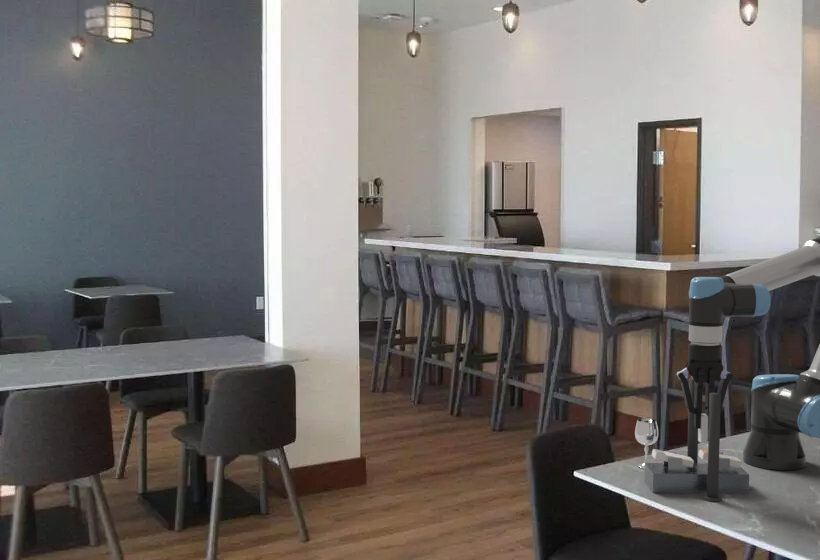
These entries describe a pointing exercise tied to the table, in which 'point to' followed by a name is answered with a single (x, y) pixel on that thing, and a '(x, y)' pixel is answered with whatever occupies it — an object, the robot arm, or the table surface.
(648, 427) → the wineglass
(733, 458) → the paddle
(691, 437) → the post far
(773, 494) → the table surface
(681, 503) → the table surface
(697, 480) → the panel
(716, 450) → the post near
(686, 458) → the paddle
